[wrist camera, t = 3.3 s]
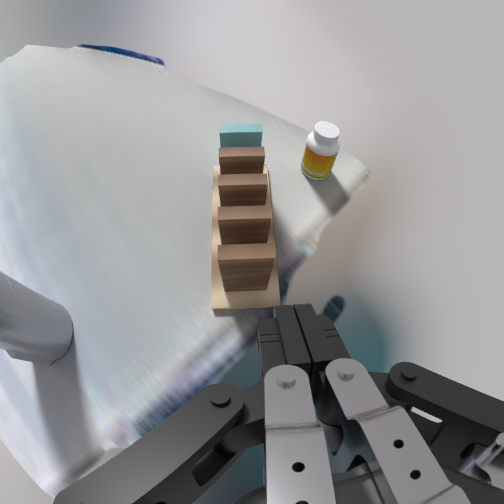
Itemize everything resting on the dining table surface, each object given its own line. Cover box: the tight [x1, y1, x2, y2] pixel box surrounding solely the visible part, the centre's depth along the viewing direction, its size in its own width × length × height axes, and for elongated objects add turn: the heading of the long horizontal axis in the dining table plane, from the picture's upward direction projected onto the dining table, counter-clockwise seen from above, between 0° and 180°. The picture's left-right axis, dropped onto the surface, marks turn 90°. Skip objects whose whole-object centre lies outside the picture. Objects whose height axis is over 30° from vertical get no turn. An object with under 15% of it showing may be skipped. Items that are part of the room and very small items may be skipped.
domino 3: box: [218, 174, 268, 207], centre depth 37 cm, size 2×6×11 cm, turn 93°
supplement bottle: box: [301, 122, 340, 180], centre depth 44 cm, size 5×5×10 cm
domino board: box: [212, 165, 280, 309], centre depth 42 cm, size 24×9×1 cm, turn 3°
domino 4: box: [218, 205, 271, 245], centre depth 35 cm, size 2×6×11 cm, turn 93°
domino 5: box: [218, 243, 275, 292], centre depth 33 cm, size 2×6×11 cm, turn 92°
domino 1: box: [220, 124, 262, 148], centre depth 40 cm, size 2×6×11 cm, turn 93°
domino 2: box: [219, 147, 265, 175], centre depth 39 cm, size 2×6×11 cm, turn 93°
